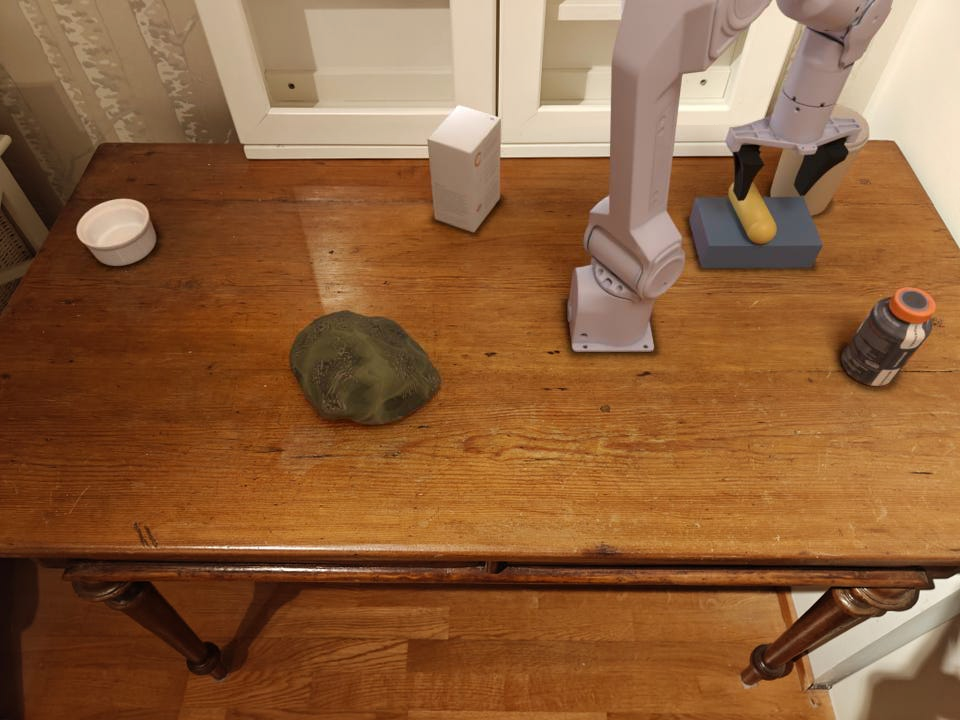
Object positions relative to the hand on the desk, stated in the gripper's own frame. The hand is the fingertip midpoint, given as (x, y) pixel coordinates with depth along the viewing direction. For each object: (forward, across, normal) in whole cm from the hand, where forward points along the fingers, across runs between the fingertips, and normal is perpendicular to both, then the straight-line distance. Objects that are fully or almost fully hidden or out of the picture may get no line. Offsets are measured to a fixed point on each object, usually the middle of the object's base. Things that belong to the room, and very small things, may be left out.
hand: (768, 192), depth 85 cm
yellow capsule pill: (+3, -1, 0) cm, 3 cm away
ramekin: (+9, -82, +9) cm, 82 cm away
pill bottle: (+9, +7, -21) cm, 24 cm away
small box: (+9, -36, +11) cm, 39 cm away
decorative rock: (+9, -50, -16) cm, 53 cm away
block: (+8, 0, 0) cm, 8 cm away
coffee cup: (+9, +10, +8) cm, 15 cm away
